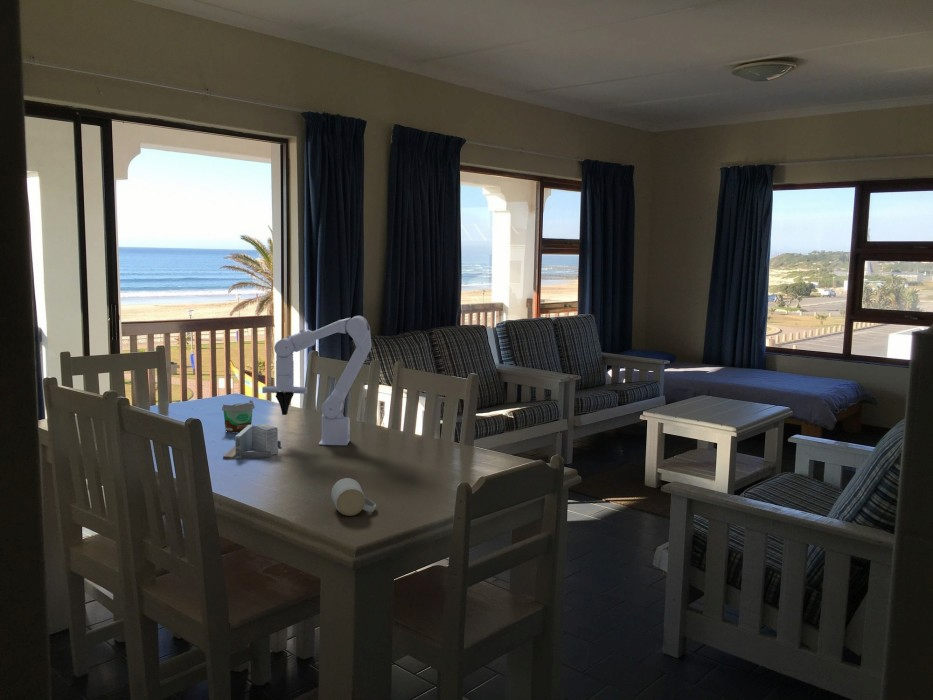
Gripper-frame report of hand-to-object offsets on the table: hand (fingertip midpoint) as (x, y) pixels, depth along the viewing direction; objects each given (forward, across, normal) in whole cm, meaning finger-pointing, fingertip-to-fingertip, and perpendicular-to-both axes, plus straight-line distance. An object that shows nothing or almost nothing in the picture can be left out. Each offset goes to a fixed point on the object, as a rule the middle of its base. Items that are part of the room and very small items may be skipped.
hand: (284, 414), depth 253 cm
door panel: (+9, +10, +14) cm, 19 cm away
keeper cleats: (+9, +5, +14) cm, 18 cm away
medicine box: (+10, +3, +15) cm, 18 cm away
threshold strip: (+9, +12, +14) cm, 21 cm away
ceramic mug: (+10, -31, +68) cm, 76 cm away
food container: (+10, +18, -14) cm, 25 cm away
